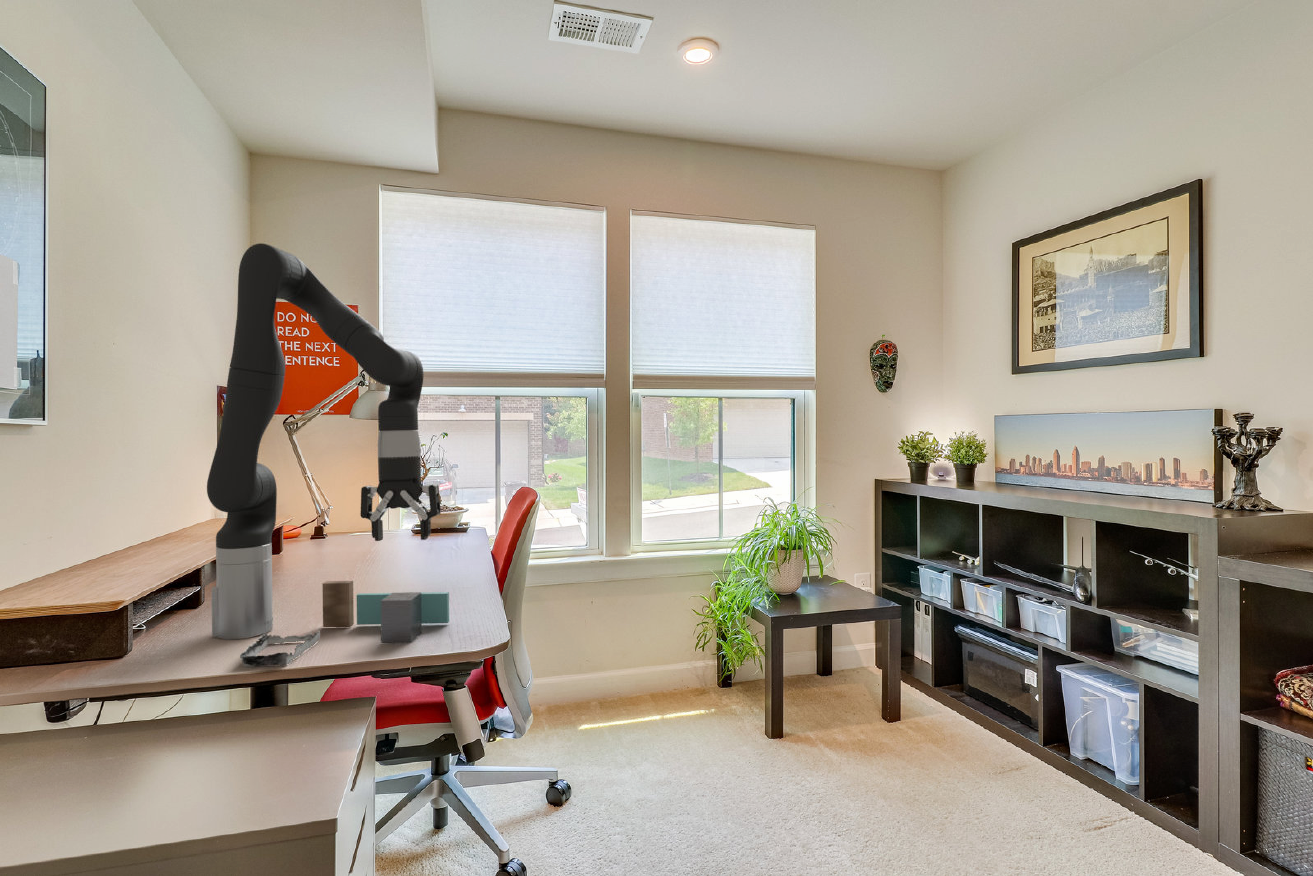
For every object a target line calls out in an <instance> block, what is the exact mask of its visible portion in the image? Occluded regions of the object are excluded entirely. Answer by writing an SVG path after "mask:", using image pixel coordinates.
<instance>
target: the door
mask: <svg viewBox="0 0 1313 876" xmlns="http://www.w3.org/2000/svg"><path fill="white" fill-rule="evenodd" d="M391 593H392V592H375V593H374V592H373V593H369V592H368V593H366V592H363V593H362V592H361V593H358V594H356V626H357V625H359V626H361V625H362V626H363V625H368V626H369V625H372V626H373V625H381V600H383V599H384V598H386V597H387V596H388V595H390V594H391ZM421 615H422V625H425V624H429V625H431V624H449V622H450V592H449V591H443V592H442V591H440V592H439V591H437V592H436V591H435V592H421Z"/></svg>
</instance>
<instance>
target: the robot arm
mask: <svg viewBox="0 0 1313 876" xmlns="http://www.w3.org/2000/svg"><path fill="white" fill-rule="evenodd" d="M237 277H238V280H237V308H236V309H237V310H236V319H235V320H236V321H235V330H234V339H233V345H232V346H233V347H232V353H231V354H232V355H231V358H230V362H229V363H230V364H229V368H228V376H227V383H226V392H225V400H224V405H223V411H222V415H221V422H220V423H221V425H220V429H219V430H220V431H219V435H218V440H217V445H216V447H215V448H216V449H215V451H214V454H213V459H212V462H211V466H210V470H209V473H208V477H207V482H206V494H207V497H208V500H209V502H210V503H211V505H212V506H213V507H214V508H216V509H217V510H218V511H221V512H223V513H227V516H226V519H225V522H224V524H223V525H222V527H221V528H220V529H219V530H218V531H217V532H216V535H215V556H216V557H215V558H216V559H215V562H216V564H215V568H216V573H215V574H216V585H215V586H213V587H211V590H210V591H211V593H210V594H211V596H210V597H211V599H210V600H211V637H212V638H219V639H222V640H236V639H238V640H240V639H246V638H252V637H256V636H262V635H264V634H268V633H269V632H270V631H271V632H272V630H273V629H272V628H273V626H274V624H273V621H274V617H273V614H274V613H273V553H272V552H273V551H272V550H273V547H272V544H273V543H272V541H273V540H272V538H273V537H272V535H273V532H274V530H275V527H276V522H277V497H278V496H277V495H278V493H277V491H278V489H277V481H276V478H275V476H274V474H273V472H272V470H271V469H270V468H269V467H268V466H266V465H264V464H262V463H259V462H258V458H259V449H260V444H261V441H262V438H263V436H264V434H265V432H266V430H267V427H268V426H269V424H270V422H271V421H272V419H273V417H274V415H275V413H276V412H277V409H278V408H279V405H280V403H281V398H282V395H283V389H284V384H285V377H286V361H285V357H284V352H283V349H282V346H281V343H280V340H279V337H278V334H277V329H276V326H275V324H276V323H275V314H276V313H275V311H276V305H277V299H278V300H284V301H286V302H288V303H290V304H292V305H293V306H295V307H298V308H299V309H301V310H302V311H304V312H306V314H308V315H310V316H311V318H312V319H314V321H315V322H316V324H317V325H318V326H319V327H320V329H321V331H322V332H323V333H324V334H325V335H326V336H327V337H328V338H329V339H330V340H331V341H332V342H333V343H335V344H336V346H338V347H339V348H341V349H342V350H343V351H344V352H345V353H347V354H348V355H350V356H351V357H352V358H354V360H355V361H356V362H357V364H358V366H359V367H360V368H361V369H362V370H363V371H364V372H365V374H367V376H369V378H371V379H372V380H374V381H376V382H377V383H379V384H381V385H384V386H389V390H388V397H387V399H384V400H382V401H381V402H380V403H379V405H378V407H377V408H378V410H377V417H378V419H377V421H378V422H377V423H378V437H377V466H378V467H377V468H378V469H377V470H378V485H377V486H372V485H366V486H362V487H361V488H360V489H361V490H360V513H359V515H360V517H361V518H362V519H366V520H370V523H371V524H370V525H371V537H372V538H373V539H374V541H375V542H380V541H383V539H384V528H383V527H384V524H383V521H384V520H383V519H382V518H383V517H384V515H385V513H386V512H387V511H388V510H389V509H391V510H392V509H398V508H400V509H409V508H411V509H412V510H413V512H415V513H416V514H417V515H418V516H419V517H420V519H421V520H420V521H419V524H420V529H419V530H420V540H421V541H425V540H427V539H429V536H431V534H432V526H431V525H432V524H431V523H432V522H431V520H432V518H434V517H437V516H439V515H440V514H441V513H442V510H441V509H442V508H441V499H440V488H439V487H440V486H439V484H437V483H433V484H429V485H424V484H423V483H422V469H421V468H422V465H421V464H422V463H421V453H422V448H421V440H420V435H419V434H420V433H419V417H418V416H419V414H418V407H419V404H420V400H421V395H422V390H423V385H424V375H425V374H424V368H423V365H422V361H421V360H420V358H419V357H418V355H416V354H415V353H413V352H412V351H408V350H403V349H397V348H395V347H393V346H391V345H390V344H389V343H387V342H385V340H384V336H383V334H382V333H381V332H380V330H379V329H378V328H377V327H375V326H374V325H373V324H372V323H370V321H367V320H366V319H365V317H363V316H361V315H360V314H358V313H357V312H356V311H355V310H353V309H352V308H351V307H349V306H348V305H347V304H346V303H344V302H343V301H342V300H340V299H339V298H338V297H337V296H336V295H334V293H333V292H331V291H330V290H329V289H328V287H326V286H325V284H323V283H322V281H320V279H319V278H318V277H317V276H316V275H315V273H313V271H312V270H311V269H310V268H309V267H308V266H307V264H305V263H304V262H303V261H302V260H301V259H300V258H299V257H297V256H295V255H294V254H292V253H289V252H287V251H285V250H283V249H279V248H277V247H275V246H273V245H271V244H267V243H261V242H260V243H256V244H253V245H251V246H249V247H248V248H247V249H246V250H245V252H244V253H243V254H242V257H241V259H240V263H239V267H238V276H237ZM423 493H425V495H426V496H427V497H428V499H429V509H428V508H427V507H426V504H425V503H424V502H423V500H422V499H421V496H422V494H423ZM376 495H378V497H379V498H380V499H381V500H380V502H379V503H378V504H377V506H376V507H375V510H374V511H373V498H375V497H376Z"/></svg>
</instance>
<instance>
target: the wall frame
mask: <svg viewBox="0 0 1313 876" xmlns="http://www.w3.org/2000/svg"><path fill="white" fill-rule="evenodd" d="M354 608H355V607H354V580H327V581H325V582H323V583H322V628H323V627H350V628H351V626H352V625H353V624H354V625H355V623H354V622H355V619H354V613H355V610H354ZM354 625H353V626H354ZM353 626H352V627H353Z"/></svg>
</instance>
